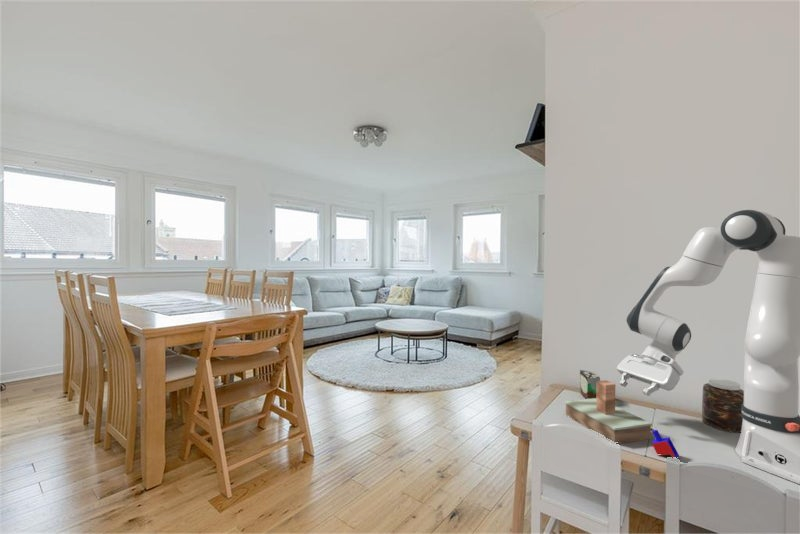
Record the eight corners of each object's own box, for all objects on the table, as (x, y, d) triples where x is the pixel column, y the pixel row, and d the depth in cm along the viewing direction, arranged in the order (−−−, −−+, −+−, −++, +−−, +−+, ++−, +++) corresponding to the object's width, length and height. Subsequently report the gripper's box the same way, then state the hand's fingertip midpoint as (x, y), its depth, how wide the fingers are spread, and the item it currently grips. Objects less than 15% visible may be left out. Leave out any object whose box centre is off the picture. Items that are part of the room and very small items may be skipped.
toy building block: (663, 457, 109) (649, 429, 112) (679, 455, 107) (664, 427, 109) (661, 462, 107) (646, 433, 109) (677, 460, 104) (661, 431, 107)
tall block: (615, 413, 125) (615, 384, 125) (605, 414, 124) (605, 385, 124) (605, 408, 129) (606, 380, 129) (596, 409, 128) (596, 381, 128)
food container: (604, 404, 146) (605, 379, 146) (587, 403, 147) (588, 378, 147) (594, 393, 158) (595, 370, 158) (579, 392, 159) (579, 369, 159)
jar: (753, 428, 125) (754, 384, 125) (736, 435, 120) (737, 389, 120) (711, 415, 136) (712, 375, 136) (694, 421, 131) (695, 379, 131)
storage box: (652, 439, 117) (652, 423, 117) (614, 444, 114) (614, 428, 114) (597, 411, 139) (597, 398, 139) (564, 414, 136) (564, 401, 136)
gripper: (626, 347, 141) (604, 374, 139) (678, 361, 121) (654, 393, 119) (635, 358, 142) (614, 385, 140) (688, 373, 122) (665, 406, 120)
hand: (633, 389), depth 129 cm, fingers open, 8 cm apart
